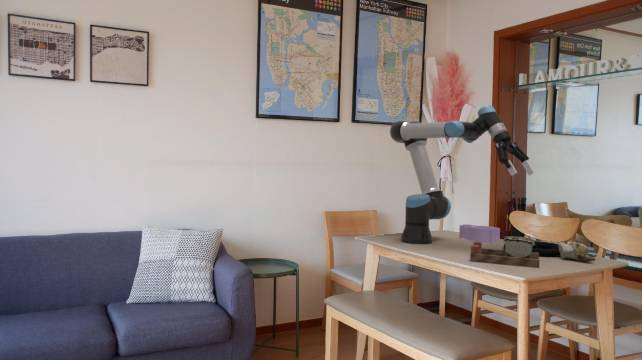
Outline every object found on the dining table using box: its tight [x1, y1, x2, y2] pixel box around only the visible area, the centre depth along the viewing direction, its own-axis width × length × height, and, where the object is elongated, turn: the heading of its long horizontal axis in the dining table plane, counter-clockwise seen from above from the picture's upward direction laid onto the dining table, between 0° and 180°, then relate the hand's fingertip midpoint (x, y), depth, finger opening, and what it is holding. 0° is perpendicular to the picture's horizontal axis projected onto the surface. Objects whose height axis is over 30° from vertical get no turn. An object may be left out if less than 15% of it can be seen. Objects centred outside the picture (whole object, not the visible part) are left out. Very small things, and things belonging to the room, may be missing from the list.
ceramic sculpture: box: [557, 240, 598, 262], centre depth 221 cm, size 11×9×15 cm
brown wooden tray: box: [469, 241, 540, 268], centre depth 215 cm, size 26×17×6 cm
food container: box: [503, 235, 535, 259], centre depth 213 cm, size 12×6×10 cm, turn 48°
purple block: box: [458, 223, 501, 243], centre depth 273 cm, size 20×12×7 cm, turn 45°
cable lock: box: [503, 240, 561, 258], centre depth 239 cm, size 28×4×30 cm
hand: (523, 174), depth 230 cm, fingers open, 13 cm apart
